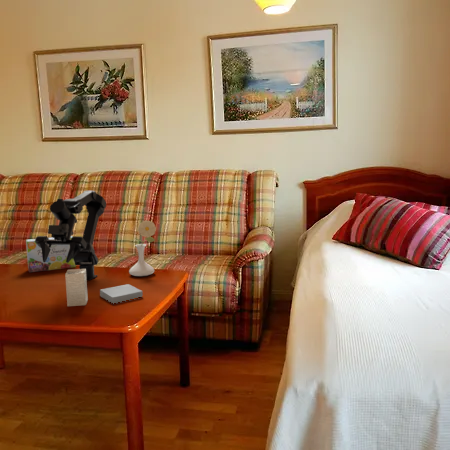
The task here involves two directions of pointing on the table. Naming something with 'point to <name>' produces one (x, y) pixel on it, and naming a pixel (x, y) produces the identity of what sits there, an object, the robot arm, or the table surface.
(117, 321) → the table surface
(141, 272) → the flower in vase
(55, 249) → the snack box
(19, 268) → the table surface
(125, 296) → the grey block
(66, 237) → the robot arm
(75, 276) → the cream block
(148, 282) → the table surface
